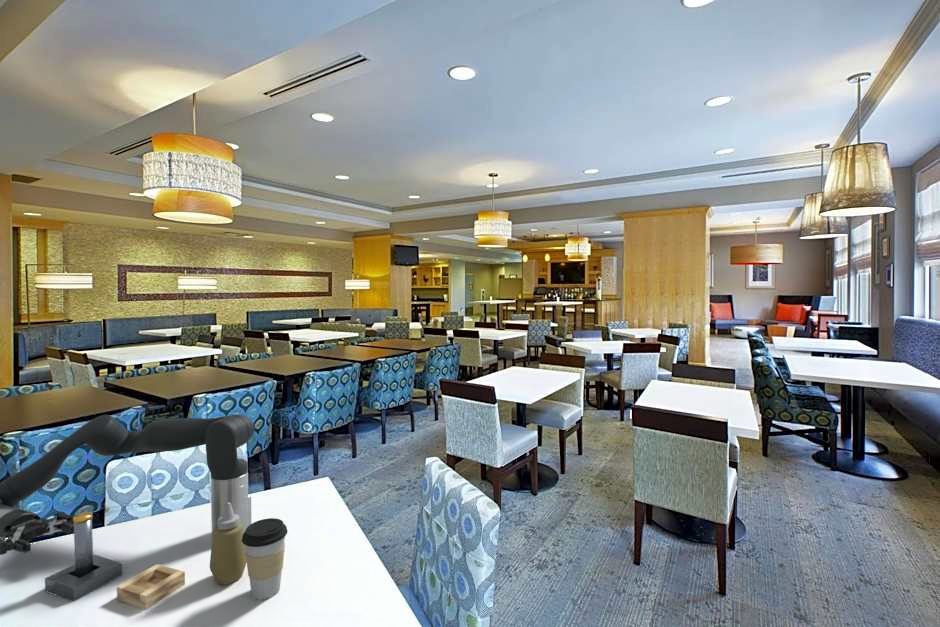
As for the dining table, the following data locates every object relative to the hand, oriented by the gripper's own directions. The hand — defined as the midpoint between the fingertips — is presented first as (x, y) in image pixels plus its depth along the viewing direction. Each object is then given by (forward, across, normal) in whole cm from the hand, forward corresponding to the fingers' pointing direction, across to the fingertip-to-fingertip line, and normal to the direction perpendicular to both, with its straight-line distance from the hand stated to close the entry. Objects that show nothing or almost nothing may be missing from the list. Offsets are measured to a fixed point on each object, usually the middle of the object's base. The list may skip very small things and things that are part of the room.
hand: (51, 538), depth 107 cm
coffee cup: (+53, -14, -8) cm, 55 cm away
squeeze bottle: (+41, -14, -9) cm, 44 cm away
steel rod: (+11, -1, -9) cm, 14 cm away
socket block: (+11, -1, -9) cm, 14 cm away
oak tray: (+29, -4, -9) cm, 30 cm away
